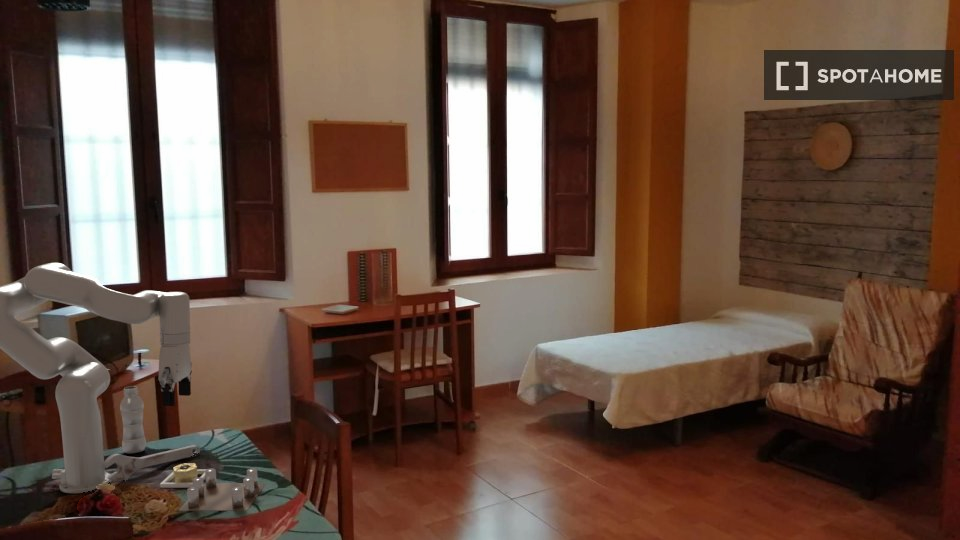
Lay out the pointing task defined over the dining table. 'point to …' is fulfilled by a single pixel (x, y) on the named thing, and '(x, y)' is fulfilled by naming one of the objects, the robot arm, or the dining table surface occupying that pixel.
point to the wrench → (144, 461)
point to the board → (222, 498)
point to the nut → (185, 473)
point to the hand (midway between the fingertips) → (176, 400)
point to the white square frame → (180, 485)
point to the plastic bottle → (132, 421)
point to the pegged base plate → (210, 476)
